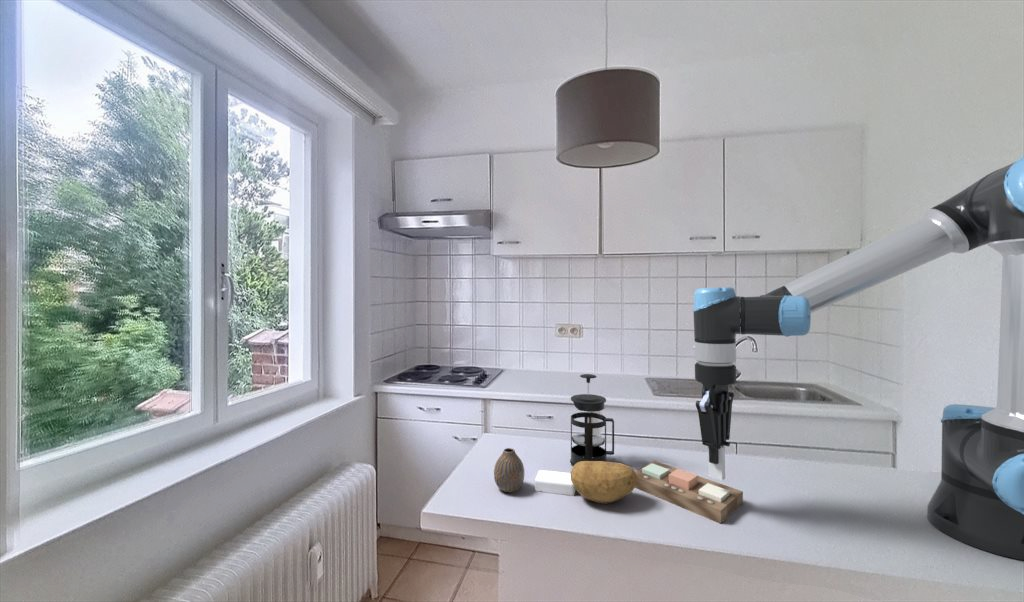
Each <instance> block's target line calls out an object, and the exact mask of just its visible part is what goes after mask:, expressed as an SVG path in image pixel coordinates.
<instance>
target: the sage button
mask: <svg viewBox="0 0 1024 602" xmlns="http://www.w3.org/2000/svg"><path fill="white" fill-rule="evenodd" d="M645 466H646V465H645ZM643 467H644V466H643ZM641 468H642V467H641ZM642 473H644V474H647V475H650V476H652V477H655V478H657V479H662V478H664V477H665V476H667V475H669V474H670V469H667V468H664V467H661V466H658V465H656V464H653V463H652V464H650V465H648V466H646V467H644V468H642Z"/></svg>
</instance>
